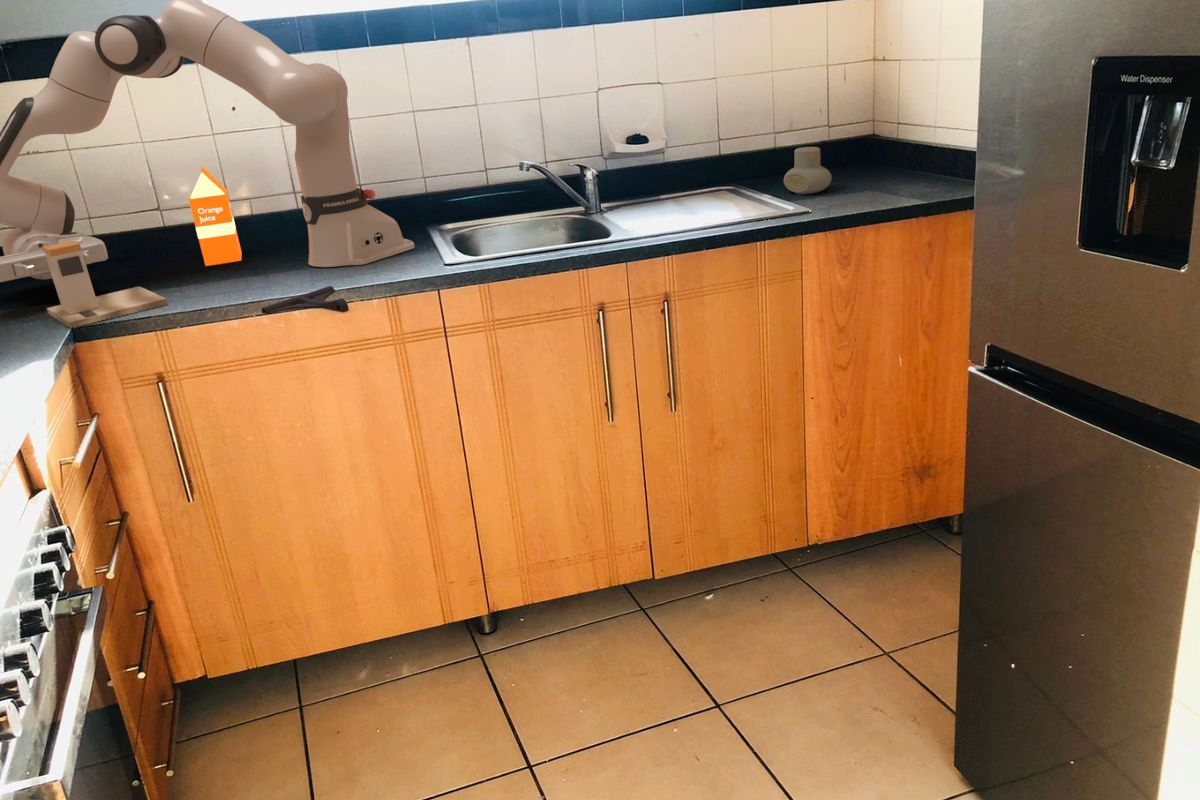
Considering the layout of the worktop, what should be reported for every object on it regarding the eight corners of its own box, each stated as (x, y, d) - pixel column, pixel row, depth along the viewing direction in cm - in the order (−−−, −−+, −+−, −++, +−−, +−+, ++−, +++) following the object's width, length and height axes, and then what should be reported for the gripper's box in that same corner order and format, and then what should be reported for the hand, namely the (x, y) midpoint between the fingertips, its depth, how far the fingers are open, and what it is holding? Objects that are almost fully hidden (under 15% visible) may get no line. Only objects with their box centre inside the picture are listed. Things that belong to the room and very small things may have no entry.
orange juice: (204, 266, 207) (181, 173, 199) (206, 258, 215) (184, 168, 207) (242, 260, 209) (220, 168, 201) (242, 252, 217) (221, 163, 209)
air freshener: (837, 190, 221) (837, 146, 217) (815, 197, 216) (814, 152, 213) (800, 187, 229) (799, 144, 225) (778, 193, 224) (777, 150, 221)
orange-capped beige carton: (91, 303, 179) (72, 240, 174) (99, 307, 175) (79, 244, 171) (62, 310, 176) (42, 246, 172) (70, 314, 172) (49, 250, 168)
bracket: (311, 327, 158) (308, 311, 157) (262, 316, 167) (259, 300, 166) (380, 304, 168) (377, 289, 167) (330, 294, 177) (327, 280, 176)
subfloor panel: (141, 292, 190) (139, 285, 189) (167, 304, 178) (165, 298, 178) (48, 314, 180) (46, 307, 179) (70, 329, 168) (68, 322, 168)
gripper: (-25, 251, 180) (-10, 261, 170) (90, 229, 192) (110, 237, 182) (-14, 284, 182) (1, 295, 172) (99, 260, 194) (119, 269, 184)
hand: (58, 265), depth 177 cm, fingers open, 8 cm apart
